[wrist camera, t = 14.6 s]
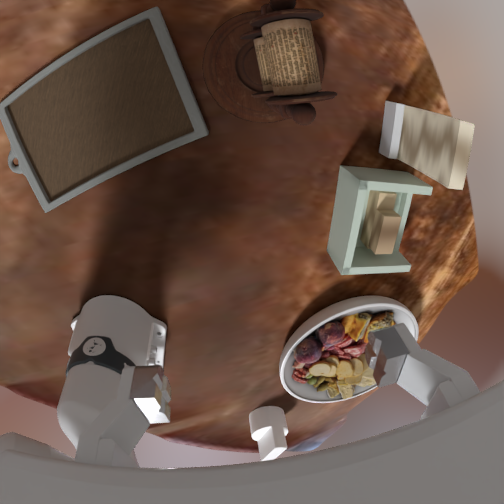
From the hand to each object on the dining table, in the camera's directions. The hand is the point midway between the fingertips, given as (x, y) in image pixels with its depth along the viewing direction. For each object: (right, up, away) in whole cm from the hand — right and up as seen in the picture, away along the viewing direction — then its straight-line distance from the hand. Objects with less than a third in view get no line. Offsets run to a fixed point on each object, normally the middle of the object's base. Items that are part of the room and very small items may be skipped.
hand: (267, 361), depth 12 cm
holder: (+21, +22, +30) cm, 43 cm away
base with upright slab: (+3, -37, +62) cm, 72 cm away
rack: (+18, +11, +36) cm, 41 cm away
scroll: (+1, +28, +24) cm, 37 cm away
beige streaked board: (+21, +22, +29) cm, 42 cm away
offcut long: (+18, +10, +35) cm, 41 cm away
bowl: (+19, -15, +52) cm, 57 cm away
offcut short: (+18, +8, +33) cm, 39 cm away
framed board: (-23, +23, +25) cm, 41 cm away
